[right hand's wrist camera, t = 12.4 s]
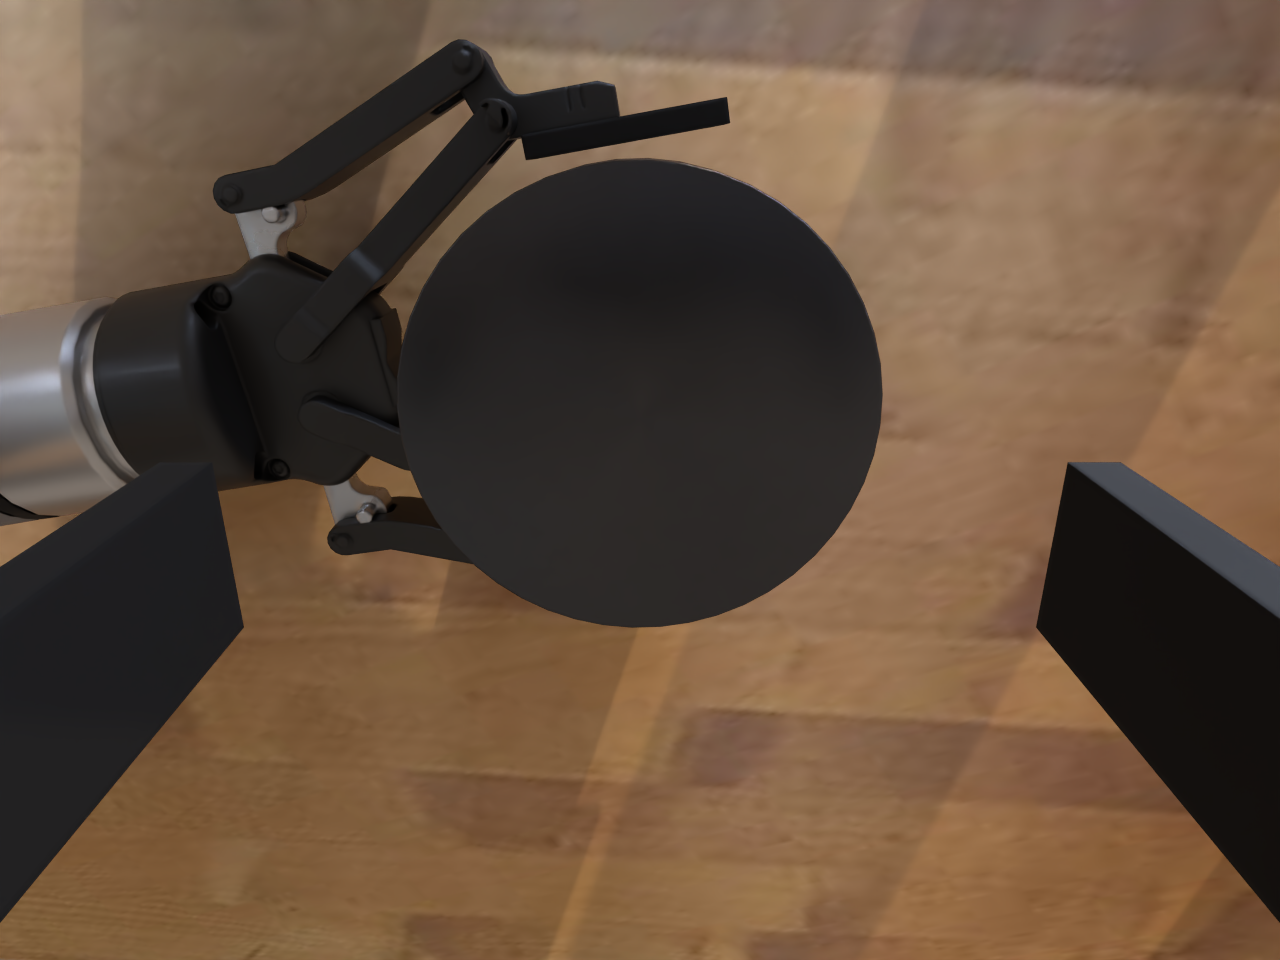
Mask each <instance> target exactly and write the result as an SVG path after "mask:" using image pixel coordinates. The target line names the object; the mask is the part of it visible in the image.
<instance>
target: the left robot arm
mask: <svg viewBox="0 0 1280 960" xmlns="http://www.w3.org/2000/svg"><path fill="white" fill-rule="evenodd" d="M464 100H466V102H467V104H468V105H469V107H470V109H471V110H472V112H473V114H474V115H473V116H472V117H471V118H470V119H469V120H468V122H467V123H466V124H465V125H464V126H463V127H462V128H461V130H460V131H459V132H458V133H457V134H456V135H455V136H454V138H453V139H452V140H451V141H450V142H449V143H448V144H447V146H446V147H445V148H444V149H443V150H442V151H441V152H440V154H439V155H438V156H437V157H436V158H435V159H434V160H433V162H432V163H431V164H430V165H429V166H428V167H427V168H426V170H425V171H424V172H423V173H422V174H421V175H420V176H419V178H418V179H417V180H416V181H415V182H414V183H413V184H412V186H411V187H410V188H409V189H408V190H407V191H406V192H405V194H404V195H403V196H402V197H401V198H400V199H399V200H398V202H397V203H396V204H395V205H394V206H393V207H392V208H391V210H390V211H389V212H388V213H387V214H386V215H385V216H384V218H383V219H382V220H381V221H380V222H379V223H378V224H377V226H376V227H375V228H374V229H373V230H372V231H371V232H370V234H369V235H368V236H367V237H366V238H365V239H364V240H363V242H362V243H361V244H360V245H359V246H358V247H357V248H356V249H355V250H354V251H352V252H351V253H350V254H349V255H348V256H347V257H346V258H345V259H344V260H343V261H342V262H341V263H340V264H339V265H338V266H337V268H336V269H335V270H334V271H331V270H329V269H327V268H325V267H323V266H321V265H319V264H317V263H315V262H312V261H310V260H308V259H306V258H304V257H302V256H300V255H298V254H296V253H293V252H290V251H288V249H287V238H288V236H289V234H290V232H291V231H292V230H294V229H296V228H297V227H299V226H301V225H302V224H303V223H304V221H305V219H306V214H307V211H306V206H305V203H304V201H306V200H310V199H313V198H316V197H318V196H320V195H323V194H325V193H327V192H328V191H330V190H332V189H334V188H335V187H337V186H338V185H340V184H341V183H343V182H344V181H346V180H347V179H349V178H350V177H352V176H353V175H354V174H356V173H357V172H359V171H360V170H362V169H363V168H365V167H366V166H368V165H369V164H371V163H372V162H374V161H375V160H377V159H378V158H380V157H381V156H383V155H384V154H386V153H387V152H388V151H390V150H391V149H393V148H394V147H396V146H397V145H399V144H400V143H402V142H403V141H405V140H406V139H408V138H409V137H411V136H412V135H414V134H415V133H417V132H418V131H419V130H421V129H422V128H424V127H425V126H427V125H428V124H430V123H431V122H433V121H434V120H436V119H437V118H439V117H440V116H442V115H443V114H445V113H446V112H448V111H449V110H450V109H452V108H453V107H455V106H456V105H458V104H459V103H461V102H462V101H464ZM728 123H730V119H729V110H728V102H727V97H724V98H719V99H714V100H708V101H703V102H697V103H692V104H686V105H681V106H675V107H670V108H664V109H659V110H654V111H648V112H643V113H637V114H632V115H626V116H621V117H620V112H619V106H618V100H617V94H616V88H615V85H613V84H609V83H604V82H600V81H594V82H589V83H583V84H579V85H573V86H568V87H562V88H557V89H551V90H546V91H540V92H535V93H530V94H522V95H518V94H514V93H513V92H511V91H510V90H509V89H508V88H507V86H506V85H505V83H504V82H503V80H502V78H501V76H500V75H499V73H498V71H497V69H496V68H495V66H494V63H493V60H492V58H491V56H490V55H489V54H488V53H487V52H486V51H484V50H483V49H481V48H480V47H478V46H477V45H475V44H473V43H471V42H469V41H467V40H460V39H458V40H456V41H453V42H451V43H449V44H448V45H447V46H445V47H444V48H442V49H441V50H439V51H438V52H436V53H435V54H434V55H432V56H431V57H429V58H428V59H426V60H425V61H424V62H422V63H421V64H419V65H418V66H416V67H415V68H413V69H412V70H411V71H409V72H408V73H406V74H405V75H403V76H402V77H401V78H399V79H398V80H396V81H395V82H393V83H392V84H390V85H389V86H388V87H386V88H385V89H383V90H382V91H380V92H379V93H377V94H376V95H375V96H373V97H372V98H370V99H369V100H367V101H366V102H365V103H363V104H362V105H360V106H359V107H357V108H356V109H354V110H353V111H352V112H350V113H349V114H347V115H346V116H344V117H343V118H342V119H340V120H339V121H337V122H336V123H334V124H333V125H331V126H330V127H329V128H327V129H326V130H324V131H323V132H321V133H320V134H318V135H317V136H316V137H314V138H313V139H311V140H310V141H308V142H307V143H306V144H304V145H303V146H301V147H300V148H298V149H297V150H295V151H294V152H293V153H291V154H290V155H288V156H287V157H285V158H284V159H283V160H281V161H280V162H278V163H277V164H275V165H272V166H267V167H262V168H257V169H252V170H247V171H243V172H238V173H233V174H228V175H224V176H222V177H220V178H218V180H217V181H216V182H215V183H214V187H213V195H214V199H215V201H216V203H217V204H218V206H219V207H220V208H222V209H223V210H224V211H226V212H228V213H231V214H235V215H236V218H237V221H238V224H239V227H240V230H241V233H242V236H243V239H244V242H245V245H246V247H247V250H248V253H249V256H250V260H249V261H248V262H247V263H246V264H245V265H244V266H243V267H242V268H241V269H239V270H238V271H236V272H235V273H233V274H229V275H224V276H219V277H213V278H208V279H202V280H196V281H191V282H185V283H180V284H174V285H168V286H163V287H157V288H152V289H146V290H140V291H135V292H130V293H127V294H125V295H123V296H121V297H120V298H118V299H116V298H111V297H101V298H96V299H90V300H84V301H79V302H73V303H67V304H61V305H56V306H50V307H44V308H39V309H33V310H27V311H21V312H16V313H10V314H4V315H0V526H4V525H10V524H15V523H21V522H27V521H33V520H39V519H46V518H53V517H59V516H64V515H71V514H77V513H83V512H85V511H86V510H88V509H89V508H91V507H92V506H94V505H95V504H97V503H98V502H100V501H102V500H103V499H105V498H106V497H108V496H109V495H111V494H112V493H114V492H115V491H117V490H118V489H120V488H121V487H123V486H124V485H126V484H127V483H129V482H130V481H132V480H134V479H135V478H137V477H138V476H140V475H141V474H143V473H144V472H146V471H147V470H149V469H150V468H152V467H153V466H155V465H156V464H158V463H159V462H212V464H213V469H214V475H215V480H216V485H217V490H218V491H223V490H229V489H236V488H242V487H248V486H254V485H261V484H267V483H273V482H277V481H282V480H288V479H301V480H306V481H310V482H313V483H316V484H319V485H324V489H325V492H326V495H327V499H328V502H329V505H330V508H331V512H332V515H333V518H334V522H335V526H334V527H333V528H332V529H331V531H330V532H329V534H328V537H327V540H328V544H329V546H330V548H331V549H332V550H333V551H334V552H335V553H338V554H340V555H353V554H360V553H367V552H375V551H382V550H389V549H392V550H398V551H403V552H409V553H414V554H420V555H425V556H431V557H437V558H442V559H448V560H453V561H459V562H464V563H470V564H473V563H472V562H471V561H470V560H469V559H468V558H467V557H466V556H465V555H464V554H463V553H462V552H461V551H460V550H459V549H458V548H457V547H456V546H455V545H454V544H453V542H452V541H451V540H450V539H449V537H448V536H447V535H446V533H445V532H444V531H443V529H442V528H441V527H440V526H439V524H438V523H437V522H436V520H435V518H434V517H433V515H432V513H431V512H430V510H429V508H428V506H427V505H426V503H425V501H424V500H423V498H417V497H400V496H399V497H391V496H390V494H389V492H388V490H387V489H386V488H384V487H376V486H369V485H366V484H364V483H363V482H362V481H361V480H360V479H359V478H358V476H357V474H356V472H357V471H358V470H359V469H360V468H361V467H362V465H363V464H364V463H365V462H366V461H367V460H368V459H369V458H370V457H371V456H373V457H375V458H377V459H380V460H382V461H385V462H387V463H389V464H392V465H394V466H396V467H399V468H401V469H404V470H409V471H410V468H409V465H408V461H407V458H406V454H405V450H404V447H403V443H402V440H401V433H400V426H399V418H398V411H397V376H398V368H399V361H400V354H401V347H402V336H401V325H400V322H399V318H398V314H397V310H396V308H395V309H391V308H390V307H389V305H388V304H387V302H386V301H385V300H384V299H383V298H382V297H381V296H380V295H379V294H380V293H381V292H382V291H383V290H384V289H385V288H386V287H387V285H388V284H389V283H390V282H391V281H392V280H393V279H394V278H395V277H396V275H397V274H398V273H399V272H400V271H401V269H402V268H403V266H404V265H405V263H406V262H407V261H408V260H409V259H410V258H411V257H412V256H413V254H414V253H415V252H416V251H417V250H418V249H419V248H420V247H421V246H422V244H423V243H424V242H425V241H426V240H427V239H428V238H429V237H430V236H431V234H432V233H433V232H434V231H435V230H436V229H437V228H438V227H439V226H440V224H441V223H442V222H443V221H444V220H445V219H446V218H447V217H448V216H449V214H450V213H451V212H452V211H453V210H454V209H455V208H456V207H457V206H458V204H459V203H460V202H461V201H462V200H463V199H464V198H465V197H466V196H467V194H468V193H469V192H470V191H471V190H472V189H473V188H474V187H475V186H476V184H477V183H478V182H479V181H480V180H481V179H482V178H483V177H484V176H485V174H486V173H487V172H488V171H489V170H490V169H491V168H492V167H493V166H494V164H495V163H496V162H497V161H498V160H499V159H500V158H501V157H502V156H503V154H504V153H505V152H506V151H507V150H508V149H509V148H510V147H511V146H512V145H513V143H514V142H515V141H516V140H517V139H521V138H522V143H523V148H524V153H525V158H526V160H531V159H538V158H543V157H549V156H555V155H560V154H566V153H571V152H577V151H582V150H588V149H593V148H599V147H604V146H610V145H615V144H621V143H626V142H632V141H637V140H643V139H648V138H654V137H659V136H665V135H670V134H676V133H681V132H687V131H692V130H698V129H703V128H709V127H714V126H720V125H724V124H728Z"/></svg>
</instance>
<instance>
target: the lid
mask: <svg viewBox="0 0 1280 960" xmlns="http://www.w3.org/2000/svg"><path fill="white" fill-rule="evenodd" d="M882 396H883V393H882V377H881V363H880V358H879V353H878V348H877V343H876V338H875V334H874V330H873V328H872V325H871V322H870V319H869V316H868V313H867V311H866V308H865V305H864V302H863V300H862V299H861V297H860V295H859V293H858V291H857V289H856V287H855V285H854V283H853V281H852V279H851V277H850V275H849V274H848V272H847V271H846V270H845V268H844V267H843V265H842V264H841V263H840V261H839V260H838V258H837V257H836V256H835V254H834V253H833V251H832V250H831V249H830V247H829V246H828V245H827V244H826V243H825V242H824V241H823V240H822V239H821V238H820V237H819V236H818V235H817V234H816V232H815V231H814V230H813V229H812V228H811V227H810V226H809V225H808V224H807V223H806V222H805V221H803V220H802V219H801V218H799V217H798V216H797V215H796V214H794V213H793V212H792V211H791V210H789V209H788V208H787V207H786V206H784V205H783V204H782V203H780V202H779V201H777V200H776V199H774V198H772V197H770V196H769V195H767V194H765V193H764V192H762V191H760V190H758V189H757V188H755V187H753V186H752V185H750V184H747V183H745V182H742V181H740V180H737V179H735V178H733V177H730V176H728V175H725V174H723V173H720V172H718V171H715V170H711V169H708V168H704V167H700V166H696V165H692V164H688V163H684V162H680V161H671V160H662V159H652V158H634V159H614V160H608V161H602V162H597V163H591V164H585V165H582V166H579V167H576V168H573V169H570V170H566V171H563V172H560V173H557V174H554V175H551V176H548V177H545V178H543V179H541V180H539V181H537V182H535V183H533V184H531V185H529V186H527V187H525V188H523V189H521V190H518V191H516V192H514V193H513V194H512V195H510V196H509V197H507V198H506V199H504V200H503V201H501V202H500V203H498V204H497V205H495V206H494V207H492V208H491V209H489V210H488V211H486V212H485V213H484V214H483V215H482V216H481V217H480V218H479V219H477V220H476V221H475V222H474V223H473V224H472V225H471V226H470V227H469V228H468V229H466V230H465V231H464V232H463V233H462V234H461V235H460V236H459V237H458V239H457V240H456V241H455V242H454V243H453V245H452V246H451V247H450V248H449V249H448V251H447V252H446V253H445V254H444V255H443V257H442V258H441V259H440V261H439V262H438V264H437V265H436V267H435V269H434V270H433V272H432V273H431V275H430V277H429V278H428V280H427V281H426V283H425V285H424V286H423V288H422V290H421V293H420V295H419V297H418V300H417V302H416V304H415V306H414V309H413V311H412V313H411V315H410V318H409V322H408V325H407V329H406V333H405V336H404V340H403V343H402V347H401V354H400V361H399V368H398V376H397V411H398V418H399V426H400V433H401V440H402V443H403V447H404V450H405V454H406V458H407V461H408V465H409V468H410V471H411V473H412V475H413V478H414V480H415V482H416V485H417V487H418V489H419V492H420V494H421V496H422V498H423V500H424V501H425V503H426V505H427V506H428V508H429V510H430V512H431V513H432V515H433V517H434V518H435V520H436V522H437V523H438V524H439V526H440V527H441V528H442V529H443V531H444V532H445V533H446V535H447V536H448V537H449V539H450V540H451V541H452V542H453V544H454V545H455V546H456V547H457V548H458V549H459V550H460V551H461V552H462V553H463V554H464V555H465V556H466V557H467V558H468V559H469V560H470V561H471V562H472V563H473V564H474V565H475V566H476V567H478V568H479V569H480V570H481V571H483V572H484V573H485V574H486V575H488V576H489V577H490V578H491V579H493V580H494V581H495V582H496V583H498V584H500V585H501V586H503V587H504V588H506V589H508V590H509V591H511V592H513V593H514V594H516V595H517V596H519V597H521V598H523V599H525V600H527V601H529V602H531V603H533V604H535V605H538V606H540V607H542V608H544V609H546V610H549V611H552V612H555V613H558V614H561V615H564V616H567V617H570V618H573V619H577V620H582V621H586V622H591V623H596V624H601V625H610V626H621V627H662V626H669V625H676V624H683V623H690V622H694V621H697V620H701V619H705V618H709V617H713V616H717V615H719V614H722V613H724V612H727V611H730V610H732V609H735V608H737V607H740V606H742V605H745V604H747V603H748V602H750V601H752V600H754V599H756V598H758V597H760V596H762V595H764V594H765V593H767V592H769V591H771V590H772V589H774V588H775V587H776V586H778V585H779V584H781V583H782V582H784V581H785V580H787V579H788V578H789V577H791V576H792V575H794V574H795V573H796V572H797V571H798V570H799V569H800V568H801V567H803V566H804V565H805V564H806V563H807V562H808V561H809V560H810V559H812V558H813V557H814V556H815V555H816V554H817V553H818V551H819V550H820V549H821V548H822V547H823V546H824V545H825V543H826V542H827V541H828V540H829V539H830V538H831V537H832V536H833V534H834V533H835V532H836V530H837V529H838V527H839V526H840V524H841V523H842V521H843V520H844V518H845V517H846V515H847V514H848V512H849V511H850V510H851V508H852V506H853V504H854V502H855V500H856V498H857V496H858V494H859V492H860V490H861V488H862V486H863V484H864V482H865V479H866V476H867V473H868V470H869V468H870V465H871V462H872V459H873V456H874V453H875V448H876V443H877V438H878V434H879V429H880V423H881V409H882Z"/></svg>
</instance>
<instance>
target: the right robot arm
mask: <svg viewBox="0 0 1280 960" xmlns="http://www.w3.org/2000/svg"><path fill="white" fill-rule="evenodd" d="M243 628H244V626H243V620H242V615H241V610H240V605H239V600H238V594H237V589H236V584H235V579H234V574H233V568H232V563H231V558H230V553H229V547H228V542H227V537H226V532H225V527H224V521H223V516H222V511H221V506H220V501H219V495H218V490H217V485H216V480H215V475H214V469H213V464H212V462H159V463H158V464H156V465H155V466H153V467H152V468H150V469H149V470H147V471H146V472H144V473H143V474H141V475H140V476H138V477H137V478H135V479H134V480H132V481H130V482H129V483H127V484H126V485H124V486H123V487H121V488H120V489H118V490H117V491H115V492H114V493H112V494H111V495H109V496H108V497H106V498H105V499H103V500H102V501H100V502H98V503H97V504H95V505H94V506H92V507H91V508H89V509H88V510H86V511H85V512H83V513H82V514H80V515H79V516H77V517H76V518H74V519H73V520H71V521H70V522H68V523H66V524H65V525H63V526H62V527H60V528H59V529H57V530H56V531H54V532H53V533H51V534H50V535H48V536H47V537H45V538H44V539H42V540H41V541H39V542H38V543H36V544H35V545H33V546H31V547H30V548H28V549H27V550H25V551H24V552H22V553H21V554H19V555H18V556H16V557H15V558H13V559H12V560H10V561H9V562H7V563H6V564H4V565H3V566H1V567H0V922H1V921H2V920H3V919H4V917H5V916H6V915H7V914H8V913H9V911H10V910H11V909H12V908H13V907H14V905H15V904H16V903H17V902H18V901H19V899H20V898H21V897H22V896H23V894H24V893H25V892H26V891H27V890H28V888H29V887H30V886H31V885H32V884H33V882H34V881H35V880H36V879H37V877H38V876H39V875H40V874H41V873H42V871H43V870H44V869H45V868H46V867H47V865H48V864H49V863H50V862H51V860H52V859H53V858H54V857H55V856H56V854H57V853H58V852H59V851H60V850H61V848H62V847H63V846H64V845H65V844H66V842H67V841H68V840H69V839H70V837H71V836H72V835H73V834H74V833H75V831H76V830H77V829H78V828H79V827H80V825H81V824H82V823H83V822H84V820H85V819H86V818H87V817H88V816H89V814H90V813H91V812H92V811H93V810H94V808H95V807H96V806H97V805H98V804H99V802H100V801H101V800H102V799H103V797H104V796H105V795H106V794H107V793H108V791H109V790H110V789H111V788H112V787H113V785H114V784H115V783H116V782H117V780H118V779H119V778H120V777H121V776H122V774H123V773H124V772H125V771H126V770H127V768H128V767H129V766H130V765H131V764H132V762H133V761H134V760H135V759H136V757H137V756H138V755H139V754H140V753H141V751H142V750H143V749H144V748H145V747H146V745H147V744H148V743H149V742H150V740H151V739H152V738H153V737H154V736H155V734H156V733H157V732H158V731H159V730H160V728H161V727H162V726H163V725H164V723H165V722H166V721H167V720H168V719H169V717H170V716H171V715H172V714H173V713H174V711H175V710H176V709H177V708H178V707H179V705H180V704H181V703H182V702H183V700H184V699H185V698H186V697H187V696H188V694H189V693H190V692H191V691H192V690H193V688H194V687H195V686H196V685H197V683H198V682H199V681H200V680H201V679H202V677H203V676H204V675H205V674H206V673H207V671H208V670H209V669H210V668H211V667H212V665H213V664H214V663H215V662H216V660H217V659H218V658H219V657H220V656H221V654H222V653H223V652H224V651H225V650H226V648H227V647H228V646H229V645H230V643H231V642H232V641H233V640H234V639H235V637H236V636H237V635H238V634H239V633H240V631H241V630H242V629H243ZM1036 628H1037V629H1038V630H1039V631H1040V633H1041V634H1042V635H1043V636H1044V637H1045V639H1046V640H1047V641H1048V642H1049V643H1050V645H1051V646H1052V647H1053V648H1054V650H1055V651H1056V652H1057V653H1058V654H1059V656H1060V657H1061V658H1062V659H1063V660H1064V662H1065V663H1066V664H1067V665H1068V667H1069V668H1070V669H1071V670H1072V671H1073V673H1074V674H1075V675H1076V676H1077V677H1078V679H1079V680H1080V681H1081V682H1082V683H1083V685H1084V686H1085V687H1086V688H1087V690H1088V691H1089V692H1090V693H1091V694H1092V696H1093V697H1094V698H1095V699H1096V700H1097V702H1098V703H1099V704H1100V705H1101V707H1102V708H1103V709H1104V710H1105V711H1106V713H1107V714H1108V715H1109V716H1110V717H1111V719H1112V720H1113V721H1114V722H1115V723H1116V725H1117V726H1118V727H1119V728H1120V730H1121V731H1122V732H1123V733H1124V734H1125V736H1126V737H1127V738H1128V739H1129V740H1130V742H1131V743H1132V744H1133V745H1134V747H1135V748H1136V749H1137V750H1138V751H1139V753H1140V754H1141V755H1142V756H1143V757H1144V759H1145V760H1146V761H1147V762H1148V764H1149V765H1150V766H1151V767H1152V768H1153V770H1154V771H1155V772H1156V773H1157V774H1158V776H1159V777H1160V778H1161V779H1162V780H1163V782H1164V783H1165V784H1166V785H1167V787H1168V788H1169V789H1170V790H1171V791H1172V793H1173V794H1174V795H1175V796H1176V797H1177V799H1178V800H1179V801H1180V802H1181V804H1182V805H1183V806H1184V807H1185V808H1186V810H1187V811H1188V812H1189V813H1190V814H1191V816H1192V817H1193V818H1194V819H1195V820H1196V822H1197V823H1198V824H1199V825H1200V827H1201V828H1202V829H1203V830H1204V831H1205V833H1206V834H1207V835H1208V836H1209V837H1210V839H1211V840H1212V841H1213V842H1214V844H1215V845H1216V846H1217V847H1218V848H1219V850H1220V851H1221V852H1222V853H1223V854H1224V856H1225V857H1226V858H1227V859H1228V861H1229V862H1230V863H1231V864H1232V865H1233V867H1234V868H1235V869H1236V870H1237V871H1238V873H1239V874H1240V875H1241V876H1242V877H1243V879H1244V880H1245V881H1246V882H1247V884H1248V885H1249V886H1250V887H1251V888H1252V890H1253V891H1254V892H1255V893H1256V894H1257V896H1258V897H1259V898H1260V899H1261V901H1262V902H1263V903H1264V904H1265V905H1266V907H1267V908H1268V909H1269V910H1270V911H1271V913H1272V914H1273V915H1274V916H1275V917H1276V919H1277V920H1278V921H1279V922H1280V567H1279V566H1277V565H1276V564H1274V563H1273V562H1271V561H1270V560H1268V559H1267V558H1265V557H1264V556H1262V555H1261V554H1259V553H1258V552H1256V551H1255V550H1253V549H1252V548H1250V547H1249V546H1247V545H1245V544H1244V543H1242V542H1241V541H1239V540H1238V539H1236V538H1235V537H1233V536H1232V535H1230V534H1229V533H1227V532H1226V531H1224V530H1223V529H1221V528H1220V527H1218V526H1217V525H1215V524H1214V523H1212V522H1210V521H1209V520H1207V519H1206V518H1204V517H1203V516H1201V515H1200V514H1198V513H1197V512H1195V511H1194V510H1192V509H1191V508H1189V507H1188V506H1186V505H1185V504H1183V503H1182V502H1180V501H1178V500H1177V499H1175V498H1174V497H1172V496H1171V495H1169V494H1168V493H1166V492H1165V491H1163V490H1162V489H1160V488H1159V487H1157V486H1156V485H1154V484H1153V483H1151V482H1150V481H1148V480H1146V479H1145V478H1143V477H1142V476H1140V475H1139V474H1137V473H1136V472H1134V471H1133V470H1131V469H1130V468H1128V467H1127V466H1125V465H1124V464H1122V463H1121V462H1068V464H1067V469H1066V475H1065V480H1064V485H1063V490H1062V495H1061V501H1060V506H1059V511H1058V516H1057V521H1056V527H1055V532H1054V537H1053V542H1052V547H1051V553H1050V558H1049V563H1048V568H1047V573H1046V579H1045V584H1044V589H1043V594H1042V600H1041V605H1040V610H1039V615H1038V620H1037V626H1036Z"/></svg>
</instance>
